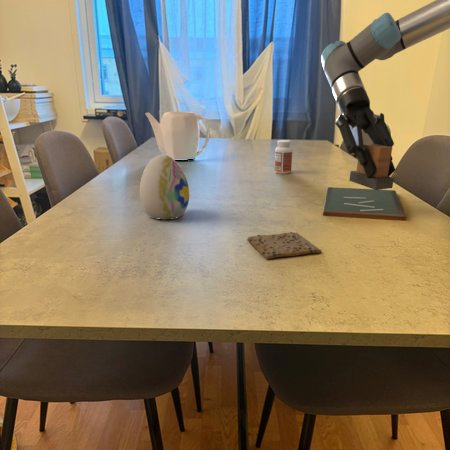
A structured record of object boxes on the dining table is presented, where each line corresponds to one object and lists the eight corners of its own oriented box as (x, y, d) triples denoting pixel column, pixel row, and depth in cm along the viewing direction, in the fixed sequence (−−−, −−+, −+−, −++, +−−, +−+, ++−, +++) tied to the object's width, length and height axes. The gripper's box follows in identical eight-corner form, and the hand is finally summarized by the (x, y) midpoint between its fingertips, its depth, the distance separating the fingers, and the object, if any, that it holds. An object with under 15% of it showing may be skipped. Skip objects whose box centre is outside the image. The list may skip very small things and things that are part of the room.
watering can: (152, 156, 193) (148, 110, 184) (211, 156, 192) (210, 110, 184) (145, 162, 179) (140, 113, 171) (208, 162, 178) (207, 113, 170)
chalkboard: (394, 193, 130) (395, 190, 129) (405, 220, 106) (406, 216, 105) (326, 190, 134) (327, 186, 134) (322, 215, 110) (323, 211, 109)
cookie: (322, 252, 86) (323, 248, 86) (266, 259, 83) (266, 255, 83) (297, 234, 96) (297, 230, 96) (246, 239, 93) (246, 235, 93)
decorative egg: (177, 224, 104) (173, 160, 97) (133, 219, 107) (126, 157, 101) (197, 211, 114) (195, 152, 107) (156, 207, 118) (152, 149, 111)
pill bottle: (291, 171, 161) (293, 139, 156) (290, 174, 156) (292, 142, 151) (274, 170, 162) (276, 139, 157) (273, 173, 157) (274, 141, 152)
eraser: (392, 188, 107) (399, 147, 102) (375, 189, 105) (381, 149, 101) (365, 179, 116) (370, 142, 111) (349, 180, 114) (354, 143, 110)
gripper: (372, 107, 118) (402, 180, 112) (314, 108, 113) (342, 185, 107) (388, 85, 111) (421, 162, 105) (327, 86, 106) (358, 167, 100)
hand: (381, 174), depth 106 cm, fingers closed on eraser, 5 cm apart
